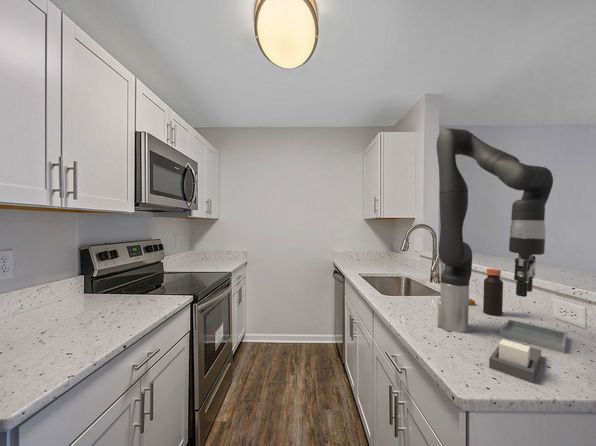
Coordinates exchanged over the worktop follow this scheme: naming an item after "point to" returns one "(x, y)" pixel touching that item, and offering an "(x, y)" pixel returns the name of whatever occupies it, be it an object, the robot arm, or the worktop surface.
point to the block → (514, 353)
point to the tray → (534, 335)
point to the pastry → (471, 302)
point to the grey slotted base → (516, 369)
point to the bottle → (493, 293)
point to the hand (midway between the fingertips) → (524, 293)
